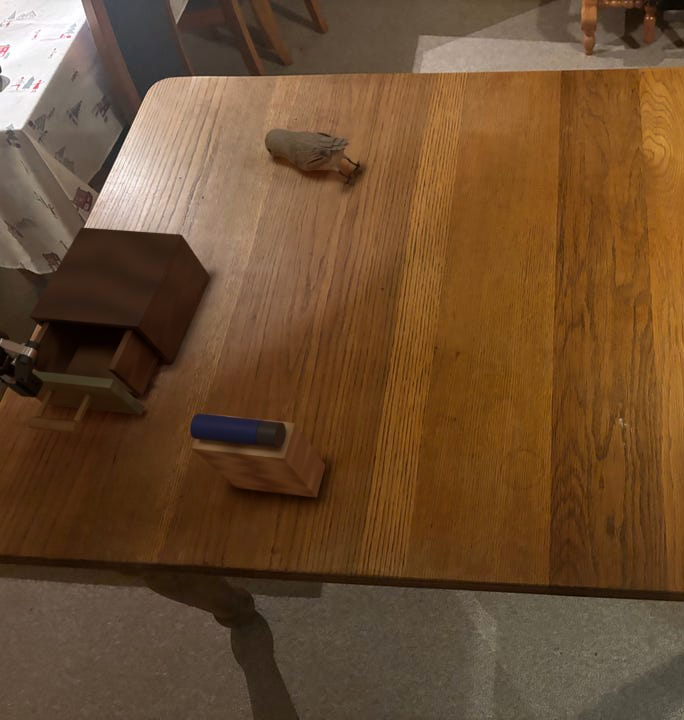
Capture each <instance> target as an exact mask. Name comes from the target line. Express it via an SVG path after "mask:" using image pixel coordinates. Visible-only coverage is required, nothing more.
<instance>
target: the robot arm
mask: <svg viewBox="0 0 684 720" xmlns="http://www.w3.org/2000/svg"><path fill="white" fill-rule="evenodd" d="M40 347H41V345H40V344H39V343H37V342H35V341H34V340H27V341H26V343H25V342H22V343H21V344H20V343H17V342H16V341H12V340H10V336H9V335H8V333H6V332H5V331H3V330H1V329H0V383H2V384H3V385H4V386H6V387H7V388H9V389H10V390H11V391H13V392H15V394H17V395H19V396H20V397H25V398H33V399H34V398H35V397H36V396H37V395H38V393H39V391H40V389H41V387H42V386H43V381H42V380H41V379H40V378H39V377H37V376H36V375H35V374H33V373H32V371H34V370H35V369H34V367H35V366H36V365H37V363H38V359H39V353H40Z"/></svg>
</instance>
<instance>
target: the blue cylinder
mask: <svg viewBox="0 0 684 720" xmlns="http://www.w3.org/2000/svg"><path fill="white" fill-rule="evenodd" d="M209 414H210V413H196V414H195V415H194V416H193V417H192V419H191V422H190V425H189V432H190V435H191V437H192V439H194V440H195V439H201V440H210V441H219V442H228V443H236V444H245V445H254V446H263V447H272V448H280V447H281V446H282V445H283V443H284V440H285V435H286V428H285V425H284V423H282V422H283V421H280V422H274V421H275V420H271V421H265V420H266V419H261V420H255V419H256V418H252V419H246V418H247V417H243V418H237V417H238V416H233V417H228V416H229V415H224V416H218V415H219V414H215V415H209ZM263 420H264V421H263Z"/></svg>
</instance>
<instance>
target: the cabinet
mask: <svg viewBox="0 0 684 720" xmlns="http://www.w3.org/2000/svg"><path fill="white" fill-rule="evenodd" d="M210 278H211V276H210V274H209V273H208V270H206V268H205V267H204V265H203V264H202V261H201V260H200V259H199V258H198V256H197V255H196V254H195V252H194V250H193V249H192V247H191V245H190V244H189V243H188V242H187V240H186V238H185V236H183V234H180V233H167V232H166V233H165V232H154V231H139V230H125V229H124V230H123V229H111V228H97V227H80V229H79V230H78V232H77V234H76V236H75V237H74V238H73V241H72V242H71V243H70V246H69V247H68V249H67V251H66V252H65V255H64V256H63V257H62V259H61V261H60V263H59V265H58V266H57V268H56V269H55V271H54V273H53V275H52V277H51V278H50V280H49V281H48V283H47V285H46V286H45V288H44V290H43V291H42V294H41V295H40V297H39V299H38V300H37V302H36V304H35V306H34V308H32V310H31V313H30V314H29V315H28V316H29V318H30V319H31V320H33V321H34V322H35V323H36V324H37V325H38V326H39V327H40V328H41V327H42V326H43V324H44V322H45V321H50V322H61V323H72V324H83V325H94V326H105V327H116V328H127V329H136V331H137V332H138V333H139V334H140V335H141V336H142V337H143V338H144V339H145V340H146V341H147V342H148V343H149V345H150V346H151V347H152V348H153V349H154V350H155V351H156V352H157V353H158V354H159V355H160V358H159V360H158V362H157V364H158V363H159V364H168V365H173V364H174V362H175V359H176V356H177V354H178V352H179V350H180V348H181V346H182V343H183V341H184V338H185V336H186V335H187V331H188V330H189V327H190V324H191V322H192V320H193V318H194V315H195V313H196V312H197V311H196V310H197V308H198V306H199V304H200V302H201V299H202V297H203V295H204V293H205V290H206V287H207V286H208V283H209V281H210Z"/></svg>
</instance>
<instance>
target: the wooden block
mask: <svg viewBox="0 0 684 720" xmlns="http://www.w3.org/2000/svg"><path fill="white" fill-rule="evenodd" d="M208 414H209V415H216V414H213V413H208ZM217 415H218V416H225V415H224V414H217ZM227 416H228V417H234V416H231V415H227ZM236 417H237V418H244V417H243V416H236ZM245 418H246V419H253V417H252V418H250V417H245ZM254 419H255V420H263V421H264V420H265V421H272V420H269V419H260V418H254ZM273 421H274V422H282V423H284V425H285V428H286V435H285V440H284V443H283V445H282V446H281V447H280V448H272V447H263V446H254V445H245V444H236V443H228V442H219V441H210V440H201V439H194V440H193V443H192V446H191V449H192V450H193V451H194V452H195V453H196V454H198V455H199V456H200V457H201V458H202V460H204V461H205V462H207V464H209V465H210V466H211V467H212V468H213V469H214V470H216V472H218V473H219V474H220V475H221V476H223V478H225V479H226V481H228V482H229V483H230V484H231V485H232V486H234V488H236V489H241V490H242V489H243V490H250V491H260V492H267V493H277V494H283V495H284V494H285V495H292V496H301V497H307V498H308V497H309V498H317V497H318V494H319V491H320V487H321V484H322V481H323V480H322V479H323V477H324V472H325V469H326V464H325V463H324V461H323V460H322V458H321V457H320V456H319V455H318V453H317V451H316V450H315V449H314V448H313V446H312V445H311V444H310V442H309V440H308V439H307V437H306V436H305V435H304V434H303V432H302V431H301V430H300V428H299V427H298V425H297V424H296V423H295V422H289V421H280V420H279V421H277V420H273Z"/></svg>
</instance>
